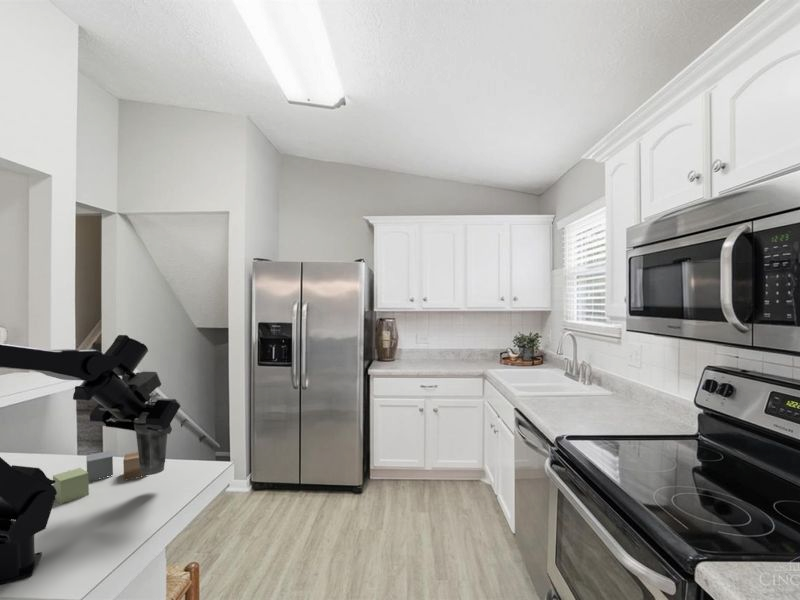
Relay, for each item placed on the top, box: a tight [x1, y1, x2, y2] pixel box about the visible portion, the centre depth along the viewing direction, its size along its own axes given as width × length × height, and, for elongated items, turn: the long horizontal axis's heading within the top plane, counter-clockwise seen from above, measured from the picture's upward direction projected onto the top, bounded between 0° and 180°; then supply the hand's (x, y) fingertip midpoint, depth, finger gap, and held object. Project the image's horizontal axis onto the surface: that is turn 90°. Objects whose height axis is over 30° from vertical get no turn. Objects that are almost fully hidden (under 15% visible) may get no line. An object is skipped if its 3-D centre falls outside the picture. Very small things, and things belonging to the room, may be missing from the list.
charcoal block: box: [86, 450, 114, 482], centre depth 103 cm, size 5×5×5 cm
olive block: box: [52, 467, 90, 504], centre depth 92 cm, size 5×5×5 cm
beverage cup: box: [133, 393, 168, 476], centre depth 93 cm, size 7×7×20 cm
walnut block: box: [122, 450, 147, 481], centre depth 103 cm, size 5×5×5 cm
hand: (157, 431), depth 95 cm, fingers closed on beverage cup, 7 cm apart
